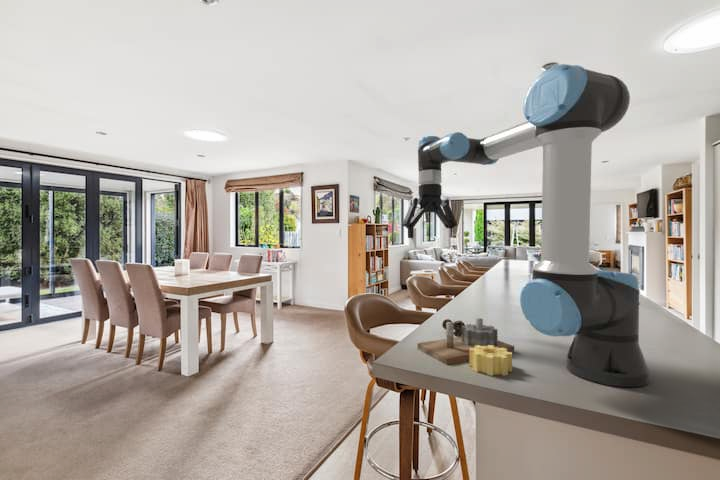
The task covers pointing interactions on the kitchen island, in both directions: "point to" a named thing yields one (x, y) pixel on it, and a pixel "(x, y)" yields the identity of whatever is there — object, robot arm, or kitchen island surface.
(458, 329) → the regulator
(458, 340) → the gear board
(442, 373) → the kitchen island surface
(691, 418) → the kitchen island surface
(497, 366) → the mustard gear
